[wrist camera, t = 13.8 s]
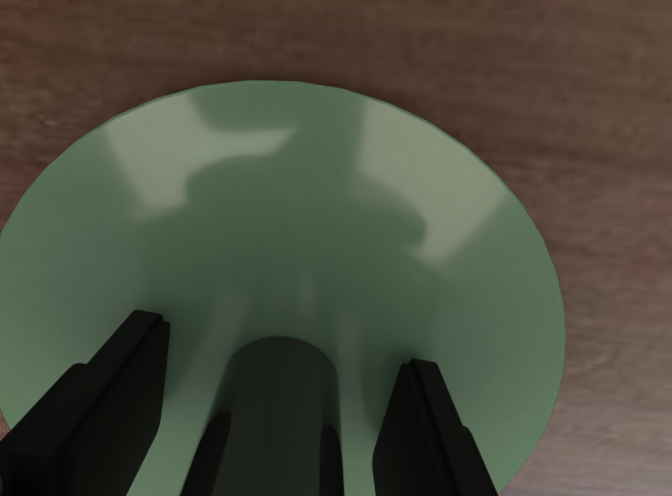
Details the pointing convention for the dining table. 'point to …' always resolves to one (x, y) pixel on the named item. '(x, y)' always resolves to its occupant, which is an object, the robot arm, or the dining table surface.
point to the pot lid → (284, 284)
